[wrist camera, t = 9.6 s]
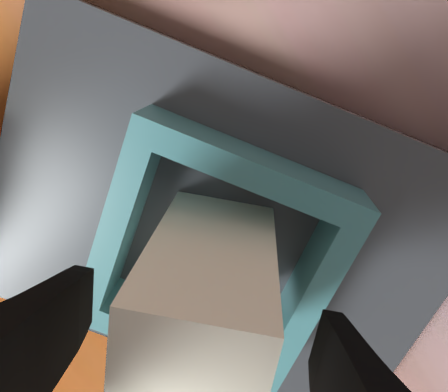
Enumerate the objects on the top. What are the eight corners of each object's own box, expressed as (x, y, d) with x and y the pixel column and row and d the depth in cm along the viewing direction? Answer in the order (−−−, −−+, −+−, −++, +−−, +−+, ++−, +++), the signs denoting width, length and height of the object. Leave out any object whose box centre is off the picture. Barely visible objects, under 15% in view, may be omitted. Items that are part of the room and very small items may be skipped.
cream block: (273, 208, 16) (284, 339, 9) (255, 289, 18) (252, 462, 10) (178, 191, 16) (109, 306, 9) (168, 273, 18) (101, 432, 10)
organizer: (507, 177, 16) (574, 210, 13) (347, 408, 21) (364, 478, 18) (46, -15, 15) (-17, -35, 12) (-12, 273, 20) (-68, 319, 17)
